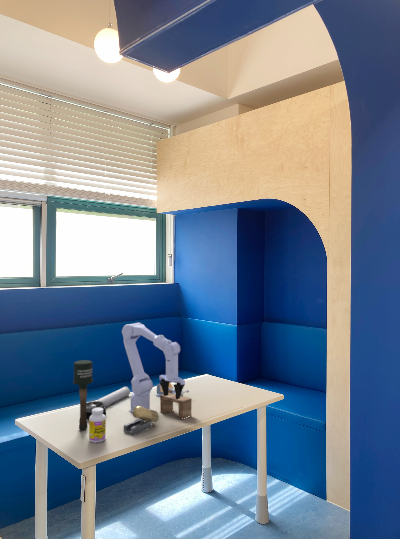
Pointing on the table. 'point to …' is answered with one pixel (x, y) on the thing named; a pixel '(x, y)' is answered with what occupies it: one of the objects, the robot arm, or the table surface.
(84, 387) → the stick grenade
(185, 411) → the wooden bridge block
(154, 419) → the brass cylinder
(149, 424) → the v block
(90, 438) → the supplement bottle
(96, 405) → the cpu cooler
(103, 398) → the tube
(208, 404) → the table surface
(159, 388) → the vise
